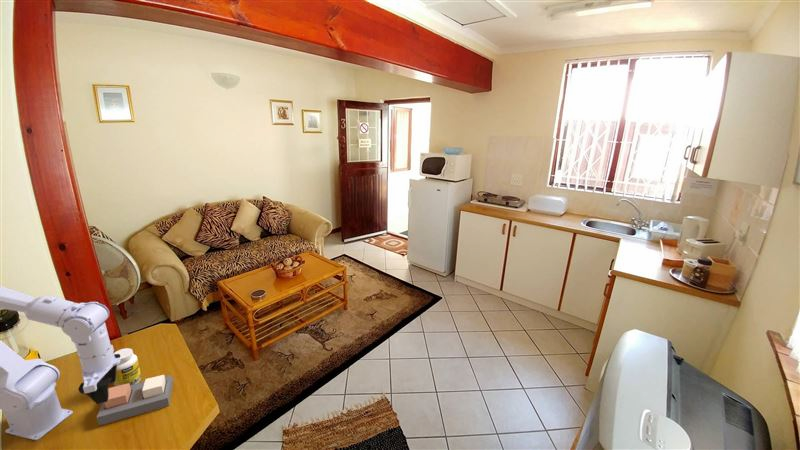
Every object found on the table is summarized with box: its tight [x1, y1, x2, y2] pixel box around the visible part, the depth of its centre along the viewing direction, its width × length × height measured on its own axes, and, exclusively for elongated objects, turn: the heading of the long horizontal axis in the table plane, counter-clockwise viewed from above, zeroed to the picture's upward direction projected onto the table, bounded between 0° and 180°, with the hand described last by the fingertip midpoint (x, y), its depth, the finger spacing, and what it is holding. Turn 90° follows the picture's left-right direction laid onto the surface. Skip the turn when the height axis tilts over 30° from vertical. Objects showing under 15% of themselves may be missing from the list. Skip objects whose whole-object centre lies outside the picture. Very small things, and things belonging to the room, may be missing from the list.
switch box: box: [96, 374, 174, 427], centre depth 87 cm, size 15×9×3 cm, turn 119°
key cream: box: [142, 374, 166, 399], centre depth 88 cm, size 4×4×3 cm
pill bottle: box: [113, 347, 142, 387], centre depth 92 cm, size 6×6×11 cm
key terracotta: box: [104, 383, 131, 409], centre depth 84 cm, size 4×4×3 cm
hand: (106, 391), depth 80 cm, fingers open, 6 cm apart
